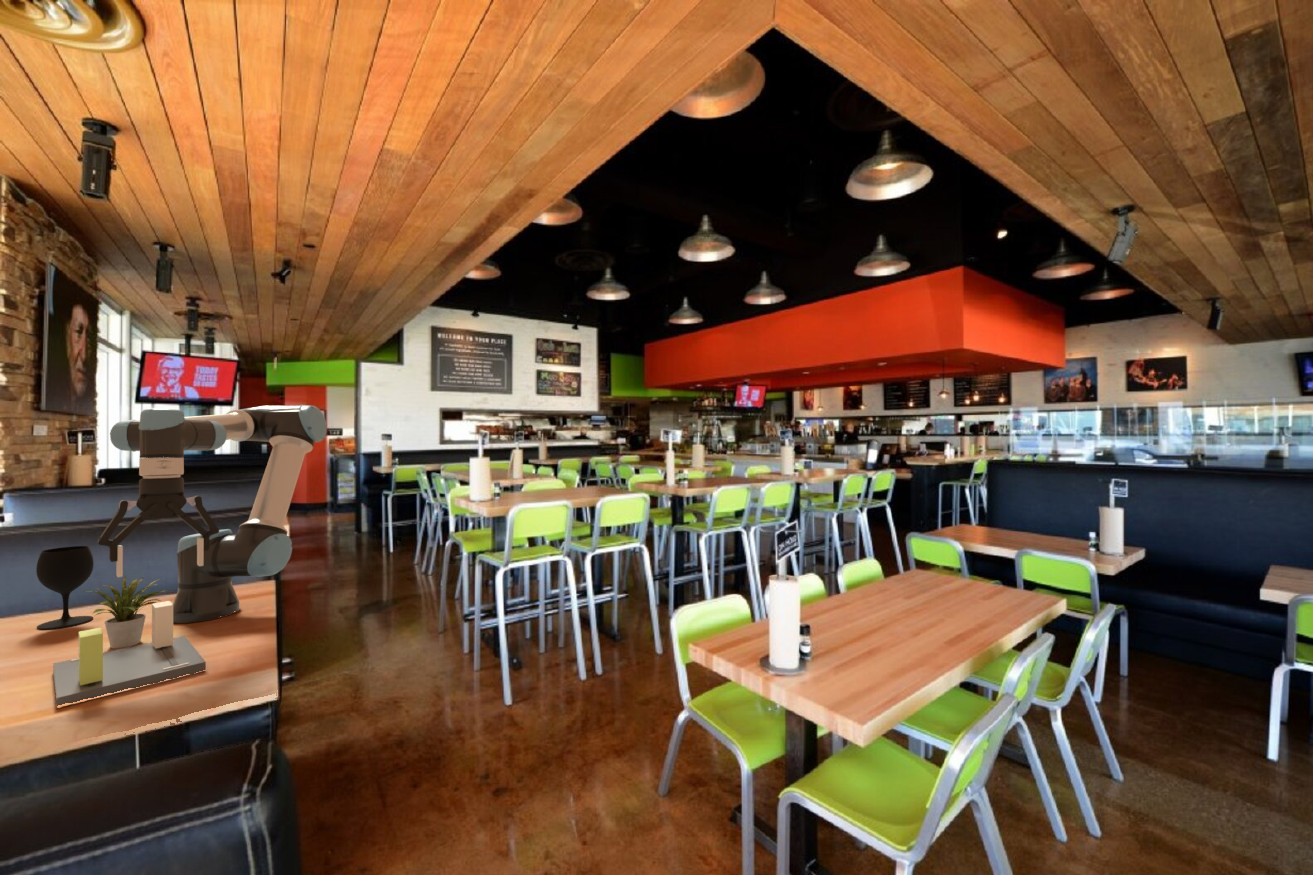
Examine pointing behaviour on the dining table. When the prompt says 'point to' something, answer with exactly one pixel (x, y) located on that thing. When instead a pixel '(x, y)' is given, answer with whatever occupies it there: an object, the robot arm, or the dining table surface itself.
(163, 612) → the fader cream
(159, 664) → the mixing board
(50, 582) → the wine glass
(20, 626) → the dining table surface
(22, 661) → the dining table surface
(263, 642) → the dining table surface
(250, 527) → the robot arm
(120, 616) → the house plant
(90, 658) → the fader lime
